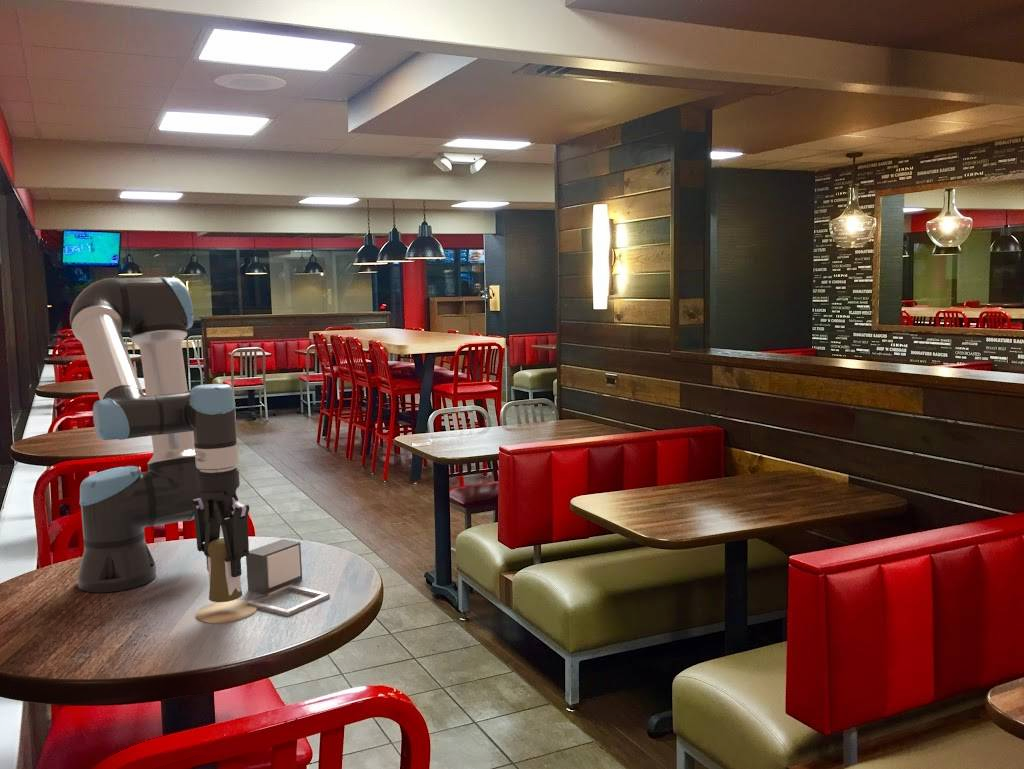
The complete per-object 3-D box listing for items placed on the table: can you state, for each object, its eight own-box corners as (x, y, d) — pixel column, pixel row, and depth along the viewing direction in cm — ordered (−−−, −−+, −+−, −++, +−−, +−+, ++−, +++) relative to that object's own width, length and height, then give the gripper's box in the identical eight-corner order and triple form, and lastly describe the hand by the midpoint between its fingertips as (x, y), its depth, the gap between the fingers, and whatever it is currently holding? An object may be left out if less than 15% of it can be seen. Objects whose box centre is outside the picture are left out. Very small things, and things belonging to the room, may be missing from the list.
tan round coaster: (183, 616, 165) (182, 614, 165) (230, 597, 174) (230, 596, 174) (222, 627, 159) (222, 625, 159) (269, 607, 168) (269, 606, 168)
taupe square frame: (246, 606, 169) (246, 602, 169) (289, 588, 179) (289, 584, 178) (287, 616, 163) (287, 612, 163) (329, 597, 173) (329, 593, 173)
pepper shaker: (202, 601, 164) (198, 543, 162) (219, 590, 169) (215, 534, 168) (232, 602, 162) (228, 544, 161) (248, 591, 168) (244, 535, 167)
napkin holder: (248, 590, 178) (245, 552, 177) (285, 576, 186) (283, 539, 185) (266, 595, 175) (264, 556, 174) (303, 580, 183) (301, 542, 182)
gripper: (170, 468, 165) (179, 589, 167) (232, 476, 156) (241, 604, 158) (203, 460, 171) (211, 577, 174) (265, 468, 162) (272, 591, 164)
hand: (225, 590), depth 166 cm, fingers closed on pepper shaker, 4 cm apart
